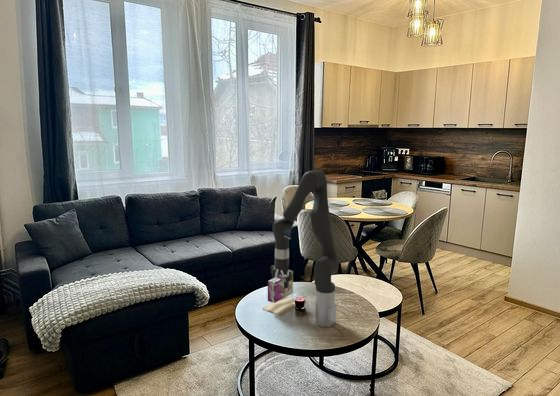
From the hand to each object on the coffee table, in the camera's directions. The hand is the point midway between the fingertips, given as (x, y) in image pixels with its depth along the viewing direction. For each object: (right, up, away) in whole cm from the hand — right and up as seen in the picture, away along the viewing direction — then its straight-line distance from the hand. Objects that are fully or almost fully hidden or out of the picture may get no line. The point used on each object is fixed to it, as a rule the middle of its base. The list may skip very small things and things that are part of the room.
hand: (281, 286), depth 202 cm
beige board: (+1, -11, +3) cm, 11 cm away
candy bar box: (-5, -1, -7) cm, 9 cm away
